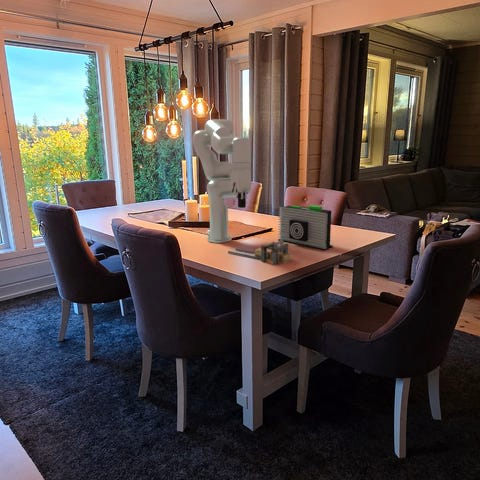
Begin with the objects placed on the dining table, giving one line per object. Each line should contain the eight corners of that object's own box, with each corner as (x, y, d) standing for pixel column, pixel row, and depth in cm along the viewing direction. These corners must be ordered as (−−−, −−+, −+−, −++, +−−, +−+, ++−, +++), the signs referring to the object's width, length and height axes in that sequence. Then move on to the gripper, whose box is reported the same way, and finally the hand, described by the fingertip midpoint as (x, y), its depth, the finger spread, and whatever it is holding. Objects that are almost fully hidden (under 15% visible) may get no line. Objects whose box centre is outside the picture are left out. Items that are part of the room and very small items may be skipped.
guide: (227, 253, 189) (227, 251, 188) (236, 250, 194) (236, 248, 193) (261, 260, 177) (261, 258, 177) (269, 256, 182) (269, 254, 182)
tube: (254, 258, 181) (254, 249, 180) (260, 255, 185) (260, 247, 184) (285, 264, 172) (285, 255, 171) (290, 262, 175) (290, 252, 174)
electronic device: (274, 242, 208) (274, 203, 203) (287, 238, 215) (288, 200, 210) (320, 252, 189) (322, 210, 184) (333, 247, 196) (335, 206, 191)
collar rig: (261, 261, 175) (261, 244, 173) (275, 255, 184) (275, 238, 182) (275, 264, 171) (275, 246, 169) (289, 258, 179) (289, 241, 178)
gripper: (244, 164, 186) (245, 204, 190) (224, 167, 174) (224, 209, 179) (258, 165, 181) (258, 205, 186) (237, 167, 170) (238, 210, 174)
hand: (241, 207), depth 182 cm, fingers closed
